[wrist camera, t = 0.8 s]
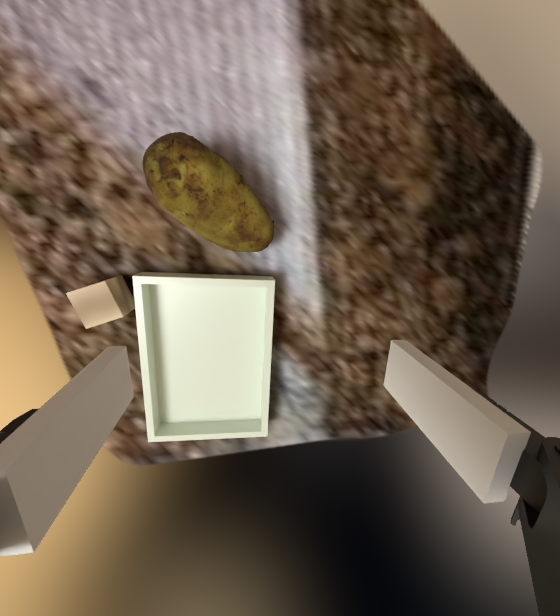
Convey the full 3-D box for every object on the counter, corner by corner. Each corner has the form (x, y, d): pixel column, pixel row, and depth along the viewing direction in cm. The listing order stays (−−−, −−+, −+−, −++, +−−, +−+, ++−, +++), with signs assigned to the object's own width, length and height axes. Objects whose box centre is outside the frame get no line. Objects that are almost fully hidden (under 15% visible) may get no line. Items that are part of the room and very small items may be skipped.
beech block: (88, 285, 31) (65, 293, 27) (122, 274, 31) (104, 280, 27) (105, 316, 32) (86, 328, 28) (137, 306, 32) (123, 316, 28)
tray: (142, 271, 31) (132, 276, 28) (272, 276, 33) (275, 280, 30) (155, 425, 37) (148, 442, 34) (265, 421, 39) (267, 436, 36)
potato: (222, 275, 32) (215, 289, 25) (148, 175, 28) (112, 155, 21) (280, 235, 32) (291, 237, 24) (212, 128, 28) (200, 90, 20)
